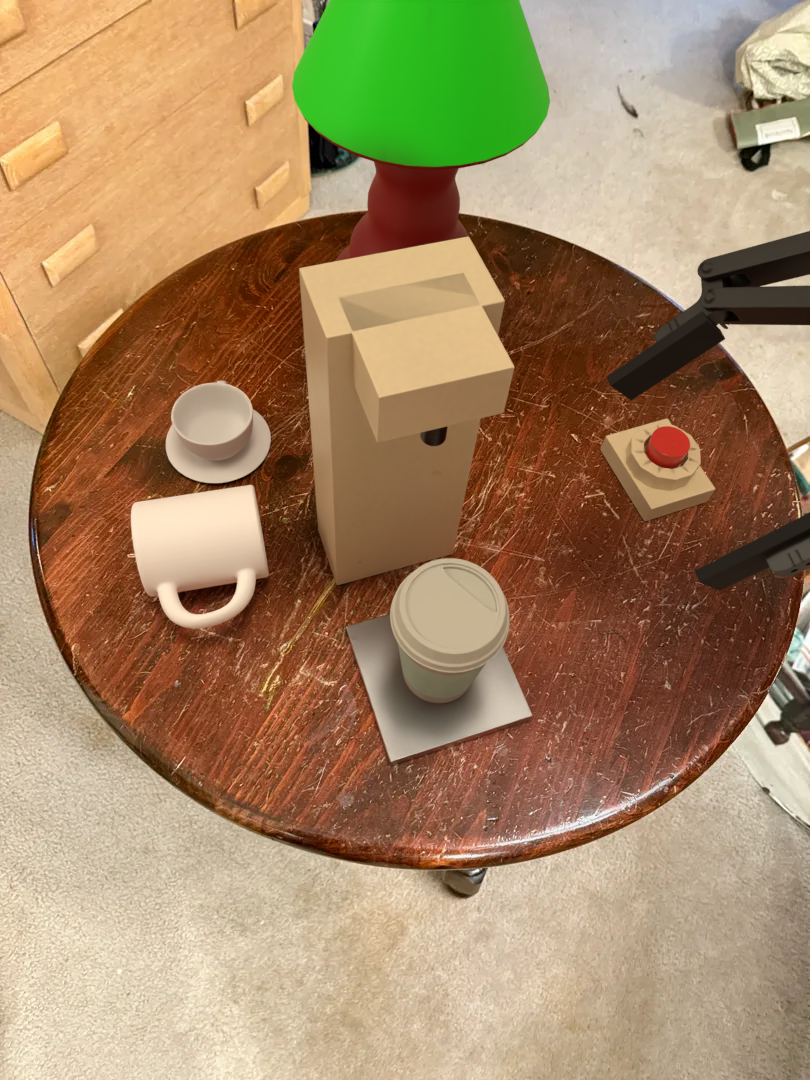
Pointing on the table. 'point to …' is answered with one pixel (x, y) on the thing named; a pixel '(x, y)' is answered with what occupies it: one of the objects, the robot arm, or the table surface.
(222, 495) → the mug
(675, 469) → the control block
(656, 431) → the red push button
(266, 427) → the teacup
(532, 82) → the table lamp
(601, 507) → the table surface
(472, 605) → the coffee cup
